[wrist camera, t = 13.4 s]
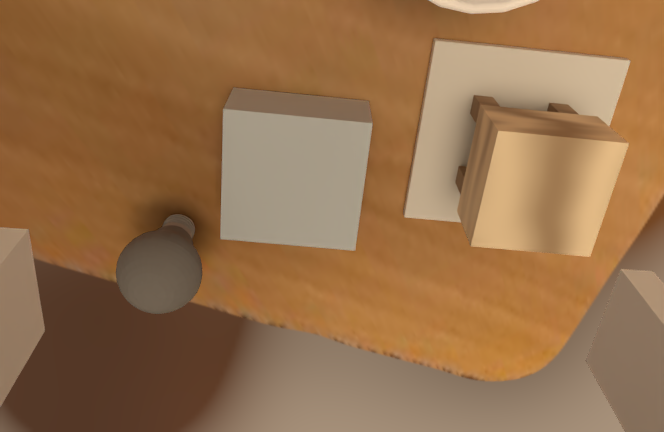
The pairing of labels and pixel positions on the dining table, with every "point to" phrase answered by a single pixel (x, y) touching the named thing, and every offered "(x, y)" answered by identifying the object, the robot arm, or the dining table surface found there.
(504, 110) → the stool
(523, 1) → the cup
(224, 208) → the gray square block
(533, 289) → the dining table surface
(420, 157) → the mat
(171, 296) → the light bulb
